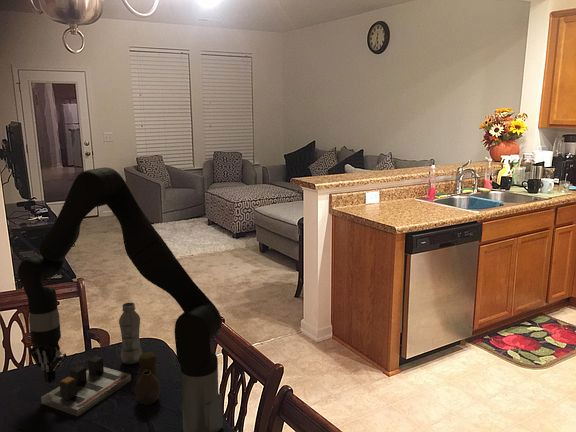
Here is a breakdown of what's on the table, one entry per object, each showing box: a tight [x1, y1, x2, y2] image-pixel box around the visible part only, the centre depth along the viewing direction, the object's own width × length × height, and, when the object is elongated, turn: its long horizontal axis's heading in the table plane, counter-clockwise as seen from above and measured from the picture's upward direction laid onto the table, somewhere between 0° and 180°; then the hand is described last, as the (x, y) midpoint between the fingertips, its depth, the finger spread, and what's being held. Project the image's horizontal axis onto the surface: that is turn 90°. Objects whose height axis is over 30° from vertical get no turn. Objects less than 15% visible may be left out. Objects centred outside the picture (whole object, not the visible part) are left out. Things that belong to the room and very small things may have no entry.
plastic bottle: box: [118, 302, 143, 365], centre depth 155 cm, size 6×7×20 cm
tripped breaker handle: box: [59, 376, 77, 400], centre depth 133 cm, size 3×3×5 cm
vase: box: [134, 371, 161, 406], centre depth 135 cm, size 7×7×9 cm
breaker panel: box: [40, 355, 132, 417], centre depth 140 cm, size 14×20×6 cm
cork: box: [138, 351, 159, 380], centre depth 141 cm, size 6×6×11 cm
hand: (50, 381), depth 136 cm, fingers closed
